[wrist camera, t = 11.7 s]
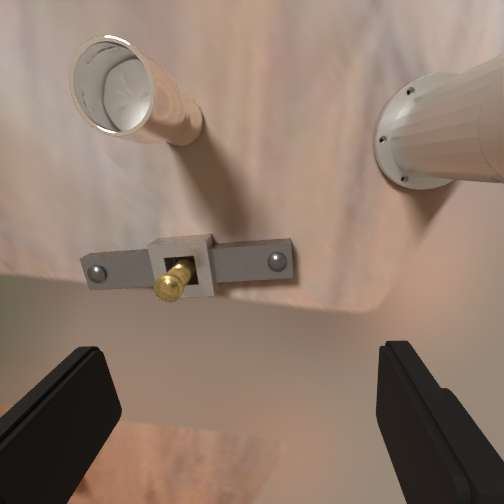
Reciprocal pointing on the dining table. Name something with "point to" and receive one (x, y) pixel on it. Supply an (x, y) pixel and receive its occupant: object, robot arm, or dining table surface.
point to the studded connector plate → (206, 260)
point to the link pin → (175, 279)
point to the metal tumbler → (130, 94)
